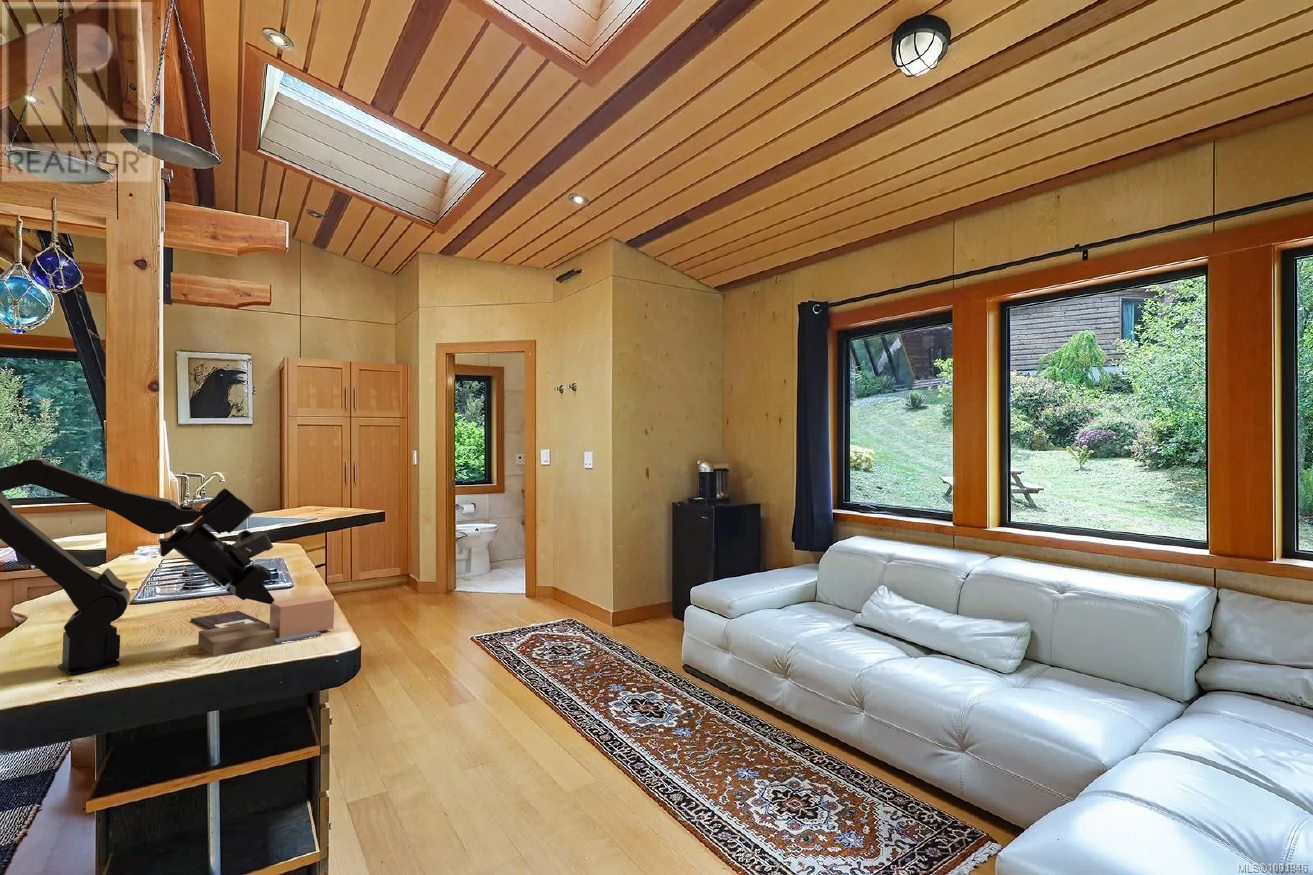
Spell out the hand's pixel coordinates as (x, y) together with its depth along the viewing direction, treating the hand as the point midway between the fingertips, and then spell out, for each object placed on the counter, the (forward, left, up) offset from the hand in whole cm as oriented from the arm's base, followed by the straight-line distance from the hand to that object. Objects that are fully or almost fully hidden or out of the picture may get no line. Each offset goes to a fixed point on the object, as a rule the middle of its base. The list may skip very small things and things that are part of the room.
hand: (272, 602), depth 126 cm
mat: (+3, -1, -7) cm, 8 cm away
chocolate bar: (0, +17, -8) cm, 18 cm away
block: (+1, 0, -4) cm, 4 cm away
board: (-6, +1, -7) cm, 9 cm away
